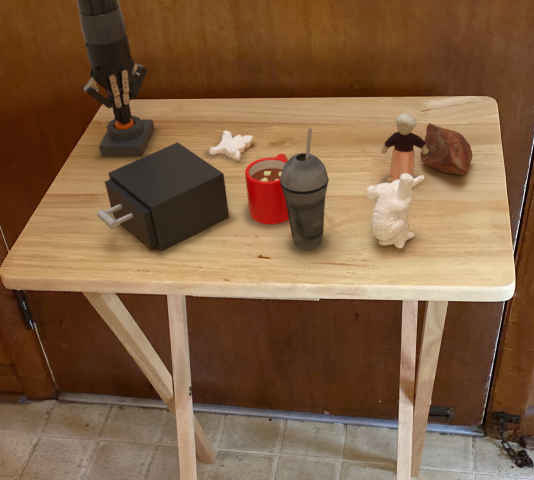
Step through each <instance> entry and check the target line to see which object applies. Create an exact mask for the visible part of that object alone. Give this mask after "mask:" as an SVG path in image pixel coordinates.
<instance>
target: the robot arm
mask: <svg viewBox="0 0 534 480" xmlns="http://www.w3.org/2000/svg"><path fill="white" fill-rule="evenodd" d="M75 1H76V5H77V10H78V14H79V15H78V16H79V25H80V29H81V33H82V37H83V41H84V46H85V50H86V54H87V58H88V62H89V65H90V71H89V76H90V79H89V80H88V81H87V83H83V84H82V85H81V90H82V91H83V92H85V93H86V94H88V95H89V96H90V97H92V98H94V99H95V100H96V101H98V102H99V103H100V104H101V105H103V106H105V107H106V108H107V109H112V112H113V116H114V119H116V121H118V122H119V123H121V124H122V125H125V124H127V123H129V122H130V119H131V116H133V115H132V111H131V106H130V102H131V100H133V99H136V98H137V97H138V95H139V92H140V89H141V87H142V85H143V82H144V80H145V78H146V75H147V72H148V69H147V67H145V66H143V65H142V64H140V63H136V62H135V60H134V58H133V57H132V56H131V55H132V52H131V47H130V42H129V37H128V33H127V32H128V31H127V25H126V22H125V18H124V14H123V12H122V9H121V8H122V7H121V5H120V0H75ZM97 84H98V85H99V86H100V87H102V88H103V89H104V91H105V93H106V95H107V97H105V96H104V95H102V94H100V93H99V90H100V89H99V87H98V85H97Z"/></svg>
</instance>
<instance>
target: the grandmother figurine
mask: <svg viewBox="0 0 534 480" xmlns="http://www.w3.org/2000/svg"><path fill="white" fill-rule="evenodd" d="M395 125H396V128H397V131H396V132H394V133H392V134H391V135H390V136H389V137H388V138H387V139H386V140H385V142H384V144H383V146H382V148H381V149H380V152H381V154H387V152H388V150H389V149H390V148H391V147H394V148H393V150H392V153H391V159H390V160H391V161H390V168H389V169H390V170H389V177H388V178H387V179H386V183H392V182H393V181H395V180H397V179H399V178H400V176H401V175H402V174H404V173H407V174H410V175H411V176H413V175H414V169H415V149H414V146H415V147H417V148H419V149H420V150H421V151H422V153H423V154H427V153H428V149H427V147H426V142H425V139H423V138H422V137H421V136H419V135H417V134H415V133H413V132H412V131H414V129H415V128H416V126H417V120H416V119H415V117H414V116H413V115H411V114H410V113H408V112H406V113H405V112H404V113H400V114H398V116H397V117H396V120H395ZM413 177H414V176H413ZM399 180H400V179H399Z"/></svg>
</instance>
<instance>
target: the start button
mask: <svg viewBox="0 0 534 480" xmlns="http://www.w3.org/2000/svg"><path fill="white" fill-rule="evenodd" d="M133 126H134V121H133V120H132V119H130V122H129V123H127V124H125V125H122V124H121V123H119V122H118V121H116V122H115V128H116V129H118V130H125V129H129V128H131V127H133Z"/></svg>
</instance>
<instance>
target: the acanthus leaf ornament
mask: <svg viewBox="0 0 534 480" xmlns="http://www.w3.org/2000/svg"><path fill="white" fill-rule="evenodd" d="M253 140H254V136H253V135H252V134H251V135H248V134H245V135H243V136H242V135H241V134H237V135H235V136H233V134H232V132H231V131H229V130H223V131H222V135H221V140H220V142H219V143H218V145H216V146H211V147H210V148H209V149H208V150H209V151H208V154H209V155H210V156H214V155H217V154H222V155H225V156H226V157H227V158H228V159H229V158H230V159H233V160H235V161H236V162H240V160H241V158H242V153H244V152H245V149H248V148H250V147H251V146H252V143H253Z"/></svg>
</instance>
